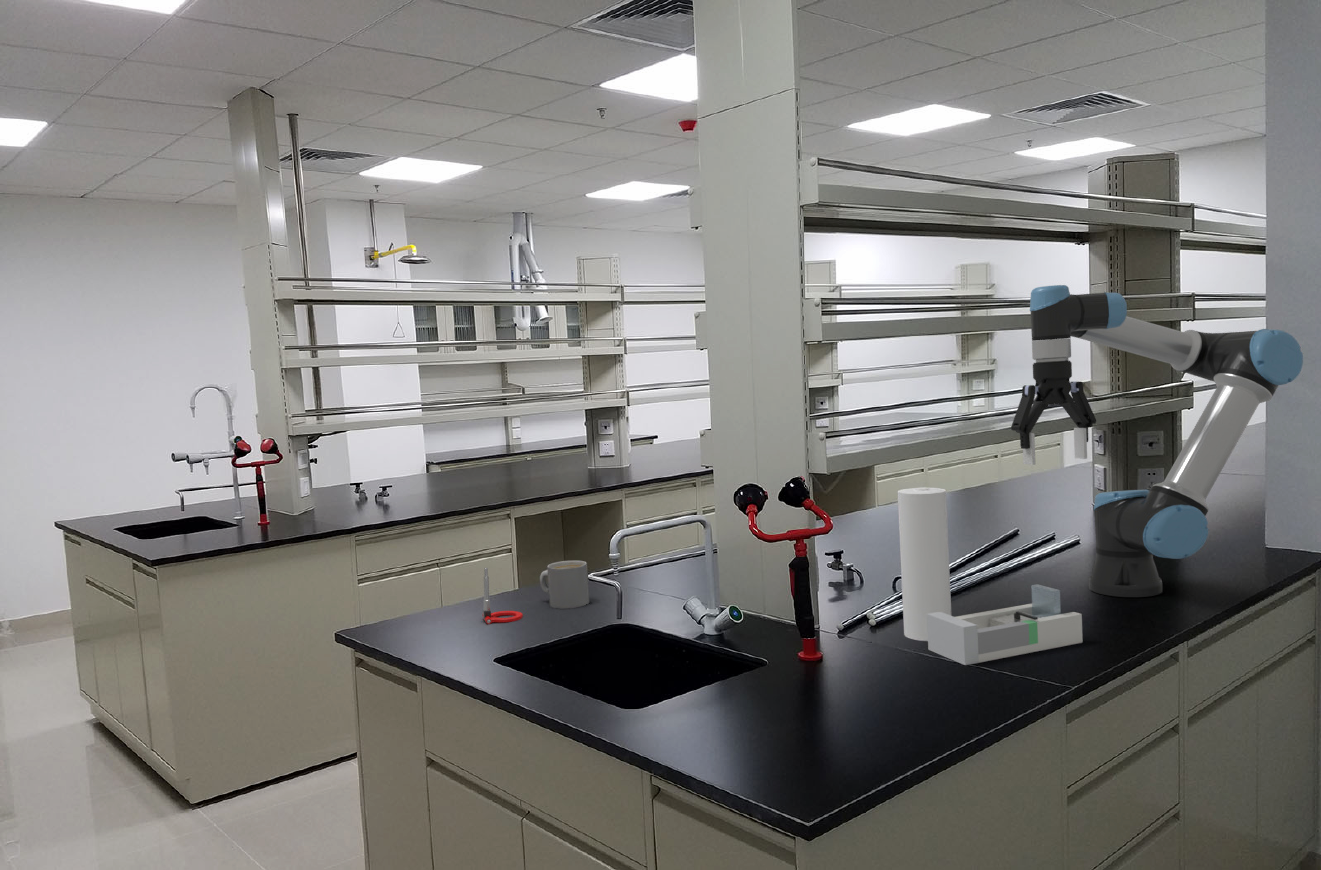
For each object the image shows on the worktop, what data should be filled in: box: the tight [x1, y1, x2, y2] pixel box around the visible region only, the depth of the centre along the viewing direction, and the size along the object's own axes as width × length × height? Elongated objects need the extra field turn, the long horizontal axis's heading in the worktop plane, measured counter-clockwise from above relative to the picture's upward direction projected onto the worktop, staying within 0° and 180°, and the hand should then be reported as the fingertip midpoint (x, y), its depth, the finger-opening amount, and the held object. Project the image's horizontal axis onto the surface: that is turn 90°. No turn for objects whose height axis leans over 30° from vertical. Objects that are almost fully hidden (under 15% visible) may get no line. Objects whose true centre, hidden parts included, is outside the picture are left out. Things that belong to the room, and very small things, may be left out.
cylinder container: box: [897, 486, 952, 642], centre depth 187 cm, size 9×9×30 cm
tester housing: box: [927, 603, 1083, 666], centre depth 177 cm, size 27×11×7 cm, turn 110°
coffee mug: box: [539, 560, 590, 610], centre depth 234 cm, size 13×10×10 cm
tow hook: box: [482, 567, 524, 625], centre depth 222 cm, size 8×13×9 cm
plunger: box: [989, 583, 1062, 627], centre depth 177 cm, size 16×8×8 cm, turn 109°
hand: (1055, 461), depth 195 cm, fingers open, 13 cm apart
